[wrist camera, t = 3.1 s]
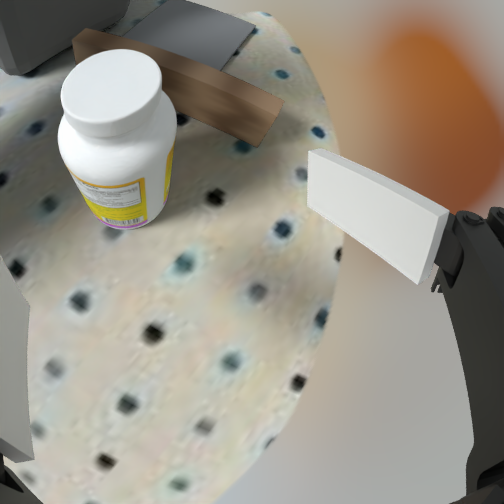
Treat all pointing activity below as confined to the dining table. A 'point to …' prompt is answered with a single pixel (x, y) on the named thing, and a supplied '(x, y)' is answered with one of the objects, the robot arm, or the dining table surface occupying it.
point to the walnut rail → (196, 87)
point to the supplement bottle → (118, 136)
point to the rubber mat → (192, 32)
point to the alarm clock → (48, 28)
